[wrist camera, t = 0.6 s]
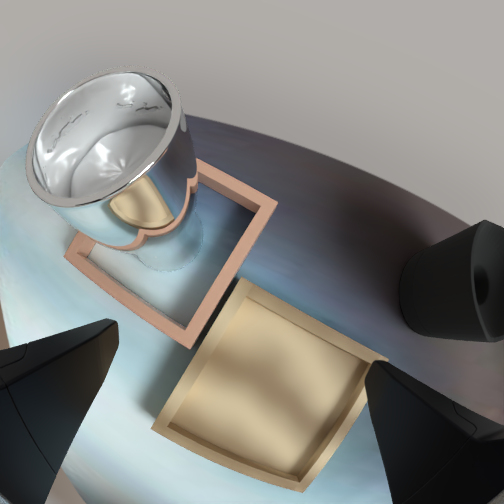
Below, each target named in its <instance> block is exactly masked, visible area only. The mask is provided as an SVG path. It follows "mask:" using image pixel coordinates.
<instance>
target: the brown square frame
mask: <svg viewBox="0 0 504 504" xmlns="http://www.w3.org/2000/svg"><path fill="white" fill-rule="evenodd" d="M196 162H197V172H198V181H199V182H200V183H202V184H204V185H206V186H208V187H209V188H211V189H213V190H215V191H217V192H219V193H220V194H222V195H224V196H226V197H227V198H229V199H231V200H233V201H235V202H236V203H238V204H240V205H242V206H243V207H245V208H247V209H249V210H251V211H252V212H254V213H256V215H255V216H254V218H253V220H252V221H251V223H250V224H249V226H248V228H247V229H246V231H245V232H244V234H243V236H242V237H241V239H240V241H239V242H238V244H237V245H236V247H235V249H234V250H233V252H232V254H231V255H230V257H229V258H228V260H227V262H226V263H225V265H224V267H223V268H222V270H221V271H220V273H219V275H218V276H217V278H216V280H215V281H214V283H213V285H212V286H211V288H210V290H209V291H208V293H207V295H206V296H205V298H204V300H203V301H202V303H201V305H200V306H199V308H198V310H197V311H196V313H195V315H194V316H193V318H192V320H191V321H190V323H189V325H188V326H187V328H186V327H184V326H182V325H181V324H179V323H178V322H176V321H175V320H173V319H172V318H170V317H168V316H167V315H165V314H164V313H162V312H161V311H159V310H158V309H156V308H155V307H153V306H152V305H150V304H149V303H148V302H146V301H145V300H143V299H142V298H140V297H139V296H137V295H136V294H135V293H133V292H132V291H130V290H129V289H128V288H126V287H125V286H123V285H122V284H121V283H119V282H118V281H117V280H115V279H114V278H113V277H111V276H110V275H109V274H107V273H106V272H105V271H103V270H102V269H101V268H99V267H98V266H97V265H96V264H94V263H93V262H92V261H91V260H89V259H88V258H87V257H88V255H89V253H90V252H91V250H92V248H93V247H94V245H95V243H96V242H95V241H93V240H91V239H89V238H87V237H86V236H85V235H83V234H82V233H80V232H79V231H78V233H77V234H76V236H75V238H74V239H73V241H72V243H71V244H70V246H69V248H68V249H67V251H66V253H65V255H64V256H63V257H64V258H66V259H67V260H68V261H69V262H70V263H71V264H72V265H74V266H75V267H76V268H77V269H78V270H80V271H81V272H82V273H83V274H84V275H86V276H87V277H88V278H89V279H90V280H92V281H93V282H94V283H95V284H97V285H98V286H99V287H100V288H102V289H103V290H104V291H106V292H107V293H108V294H109V295H111V296H112V297H113V298H115V299H116V300H117V301H119V302H120V303H121V304H123V305H124V306H125V307H127V308H128V309H130V310H131V311H132V312H134V313H135V314H137V315H138V316H139V317H141V318H142V319H144V320H145V321H147V322H148V323H150V324H151V325H153V326H154V327H155V328H157V329H158V330H160V331H161V332H163V333H165V334H166V335H168V336H169V337H171V338H172V339H174V340H175V341H177V342H179V343H180V344H182V345H183V346H185V347H187V348H188V349H191V348H192V347H193V346H194V344H195V343H196V341H197V339H198V337H199V336H200V334H201V332H202V331H203V329H204V327H205V326H206V324H207V322H208V321H209V319H210V317H211V316H212V314H213V312H214V311H215V309H216V307H217V306H218V304H219V302H220V301H221V299H222V297H223V296H224V294H225V292H226V291H227V289H228V287H229V286H230V284H231V282H232V281H233V279H234V277H235V276H236V274H237V272H238V271H239V269H240V267H241V266H242V264H243V262H244V261H245V259H246V257H247V256H248V254H249V252H250V251H251V249H252V247H253V246H254V244H255V242H256V241H257V239H258V237H259V236H260V234H261V232H262V231H263V229H264V227H265V226H266V224H267V222H268V221H269V219H270V217H271V216H272V214H273V212H274V210H275V208H276V206H277V204H278V202H276V201H275V200H273V199H271V198H269V197H268V196H266V195H264V194H262V193H261V192H259V191H257V190H255V189H253V188H252V187H250V186H248V185H246V184H244V183H243V182H241V181H239V180H237V179H235V178H233V177H231V176H230V175H228V174H226V173H224V172H222V171H220V170H218V169H216V168H215V167H213V166H211V165H209V164H207V163H205V162H203V161H201V160H199V159H197V158H196Z"/></svg>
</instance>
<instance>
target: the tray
mask: <svg viewBox="0 0 504 504" xmlns="http://www.w3.org/2000/svg"><path fill="white" fill-rule="evenodd" d="M375 360H385V361H386V362H388V360H389V359H388V358H386V357H384V356H382V355H380V354H378V353H376V352H374V351H373V350H371V349H369V348H367V347H365V346H363V345H361V344H360V343H358V342H356V341H354V340H352V339H350V338H349V337H347V336H345V335H343V334H341V333H339V332H338V331H336V330H334V329H332V328H330V327H329V326H327V325H325V324H323V323H321V322H320V321H318V320H316V319H314V318H312V317H311V316H309V315H307V314H305V313H304V312H302V311H300V310H298V309H297V308H295V307H293V306H291V305H290V304H288V303H286V302H284V301H283V300H281V299H279V298H277V297H276V296H274V295H272V294H270V293H269V292H267V291H265V290H263V289H262V288H260V287H258V286H257V285H255V284H253V283H251V282H250V281H248V280H246V279H245V278H243V277H241V278H240V280H239V282H238V283H237V285H236V287H235V289H234V290H233V292H232V294H231V295H230V297H229V299H228V300H227V302H226V304H225V305H224V307H223V309H222V310H221V312H220V314H219V315H218V317H217V319H216V320H215V322H214V324H213V325H212V327H211V329H210V330H209V332H208V334H207V335H206V337H205V339H204V340H203V342H202V344H201V345H200V347H199V349H198V351H197V352H196V354H195V356H194V357H193V359H192V361H191V362H190V364H189V366H188V367H187V369H186V371H185V372H184V374H183V376H182V377H181V379H180V381H179V382H178V384H177V386H176V387H175V389H174V391H173V392H172V394H171V395H170V397H169V399H168V400H167V402H166V404H165V405H164V407H163V409H162V410H161V412H160V414H159V415H158V417H157V419H156V420H155V422H154V424H153V425H152V427H151V429H152V430H154V431H155V432H157V433H159V434H160V435H162V436H164V437H166V438H167V439H169V440H171V441H173V442H175V443H176V444H178V445H180V446H182V447H184V448H186V449H188V450H190V451H192V452H194V453H196V454H198V455H200V456H202V457H204V458H206V459H208V460H211V461H213V462H215V463H217V464H220V465H222V466H224V467H227V468H229V469H231V470H234V471H236V472H239V473H242V474H244V475H247V476H250V477H252V478H255V479H258V480H261V481H264V482H267V483H270V484H273V485H276V486H280V487H283V488H286V489H290V490H294V491H297V492H301V493H303V492H304V491H305V490H306V488H307V487H308V486H309V485H310V484H311V482H312V481H313V480H314V479H315V477H316V476H317V475H318V474H319V472H320V471H321V470H322V468H323V467H324V466H325V464H326V463H327V462H328V460H329V459H330V458H331V456H332V455H333V454H334V452H335V451H336V449H337V448H338V446H339V445H340V444H341V442H342V441H343V439H344V438H345V436H346V435H347V433H348V432H349V430H350V428H351V427H352V425H353V424H354V422H355V420H356V419H357V417H358V416H359V414H360V412H361V411H362V409H363V407H364V406H365V404H366V402H367V395H366V390H365V384H364V380H365V377H366V374H367V372H368V370H369V368H370V366H371V364H372V362H373V361H375Z"/></svg>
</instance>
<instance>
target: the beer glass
mask: <svg viewBox="0 0 504 504" xmlns="http://www.w3.org/2000/svg"><path fill="white" fill-rule="evenodd" d="M26 175H27V179H28V182H29V185H30V187H31V189H32V190H33V192H34V193H35V194H36V195H37V196H38V197H39V198H40V199H41V200H43V201H44V202H46V203H47V204H48V205H49V206H50V207H51V208H52V209H53V210H54V211H55V212H56V213H57V214H58V215H60V216H61V217H62V218H63V219H64V220H65V221H66V222H67V223H69V224H70V225H71V226H72V227H73V228H75V229H76V230H78V231H79V232H80V233H82V234H83V235H85V236H86V237H87V238H89V239H91V240H93V241H95V242H97V243H98V244H100V245H102V246H104V247H107V248H109V249H113V250H116V251H120V252H123V253H129V254H135V255H137V257H138V258H139V259H140V261H141V262H142V263H143V264H145V265H146V266H147V267H149V268H151V269H153V270H156V271H160V272H172V271H176V270H179V269H182V268H184V267H185V266H187V265H188V264H190V263H191V262H192V261H193V260H194V259H195V257H196V256H197V255H198V253H199V251H200V249H201V247H202V243H203V237H204V231H203V226H202V222H201V220H200V218H199V216H198V214H197V213H196V212H195V207H196V202H197V192H198V172H197V162H196V156H195V151H194V147H193V142H192V138H191V135H190V131H189V128H188V125H187V121H186V118H185V115H184V112H183V109H182V106H181V98H180V95H179V92H178V90H177V88H176V86H175V85H174V83H173V82H172V81H171V80H170V79H169V78H168V77H167V76H165V75H164V74H162V73H161V72H159V71H156V70H154V69H151V68H147V67H141V66H123V67H117V68H112V69H108V70H104V71H101V72H99V73H96V74H94V75H92V76H89V77H88V78H85V79H84V80H82V81H80V82H78V83H77V84H75V85H74V86H73V87H71V88H70V89H68V90H67V91H66V92H64V93H63V94H62V95H61V96H60V97H59V98H58V99H57V100H56V101H55V102H54V103H53V104H52V105H51V106H50V107H49V108H48V110H47V111H46V112H45V113H44V115H43V116H42V118H41V119H40V121H39V123H38V124H37V126H36V128H35V129H34V132H33V134H32V136H31V139H30V141H29V145H28V148H27V153H26Z"/></svg>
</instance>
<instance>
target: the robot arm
mask: <svg viewBox="0 0 504 504" xmlns="http://www.w3.org/2000/svg"><path fill="white" fill-rule="evenodd" d="M118 346H119V332H118V323H117V321H115V320H111V319H107V318H106V319H103V320H100V321H96V322H93V323H90V324H87V325H84V326H81V327H78V328H74V329H71V330H68V331H65V332H62V333H58V334H55V335H52V336H49V337H45V338H42V339H39V340H36V341H32V342H29V343H28V344H27V343H25V344H22V345H19V346H15V347H12V348H8V349H4V350H0V504H45V501H46V499H47V496H48V494H49V492H50V489H51V487H52V485H53V482H54V480H55V478H56V475H57V473H58V470H59V469H60V466H61V464H62V462H63V460H64V458H65V456H66V454H67V451H68V449H69V447H70V445H71V443H72V441H73V439H74V437H75V435H76V433H77V431H78V429H79V427H80V425H81V423H82V421H83V419H84V417H85V416H86V414H87V412H88V410H89V408H90V406H91V404H92V402H93V400H94V399H95V397H96V395H97V393H98V391H99V389H100V388H101V386H102V384H103V382H104V380H105V378H106V375H107V373H108V370H109V368H110V365H111V363H112V361H113V358H114V356H115V354H116V351H117V349H118ZM364 384H365V390H366V395H367V400H368V406H369V411H370V416H371V420H372V424H373V427H374V431H375V434H376V438H377V441H378V445H379V449H380V452H381V456H382V460H383V464H384V468H385V472H386V476H387V480H388V484H389V489H390V493H391V497H392V502H393V504H504V425H501V424H499V423H497V422H494V421H492V420H490V419H488V418H486V417H483V416H481V415H479V414H477V413H475V412H473V411H471V410H469V409H467V408H465V407H464V406H462V405H460V404H458V403H456V402H455V401H452V400H451V399H449V398H448V397H446V396H444V395H442V394H441V393H439V392H437V391H435V390H434V389H432V388H430V387H429V386H427V385H425V384H423V383H422V382H420V381H418V380H417V379H415V378H413V377H412V376H410V375H408V374H406V373H405V372H403V371H401V370H400V369H398V368H396V367H395V366H393V365H391V364H390V363H388V362H386V361H385V360H375V361H373V362H372V364H371V366H370V368H369V370H368V372H367V374H366V377H365V380H364Z"/></svg>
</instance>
